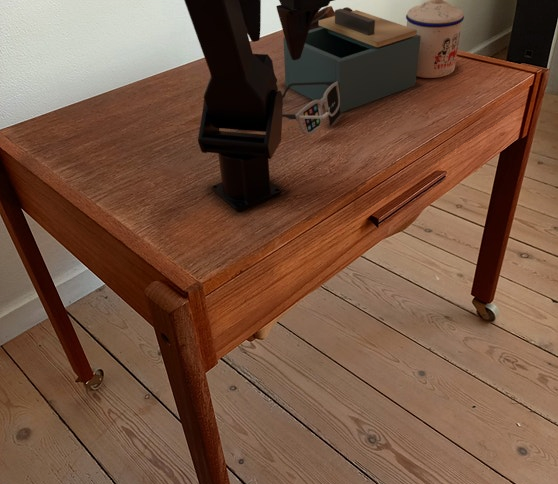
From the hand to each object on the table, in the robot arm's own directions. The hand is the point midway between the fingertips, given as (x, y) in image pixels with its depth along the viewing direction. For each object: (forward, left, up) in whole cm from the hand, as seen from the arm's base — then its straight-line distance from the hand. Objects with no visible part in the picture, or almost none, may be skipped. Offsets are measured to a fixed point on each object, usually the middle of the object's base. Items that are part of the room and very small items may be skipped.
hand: (275, 49), depth 76 cm
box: (+7, -19, -12) cm, 24 cm away
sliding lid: (+7, -22, -4) cm, 23 cm away
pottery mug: (+23, -28, -12) cm, 38 cm away
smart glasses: (+1, -5, -10) cm, 11 cm away
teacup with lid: (+4, -35, -12) cm, 37 cm away
